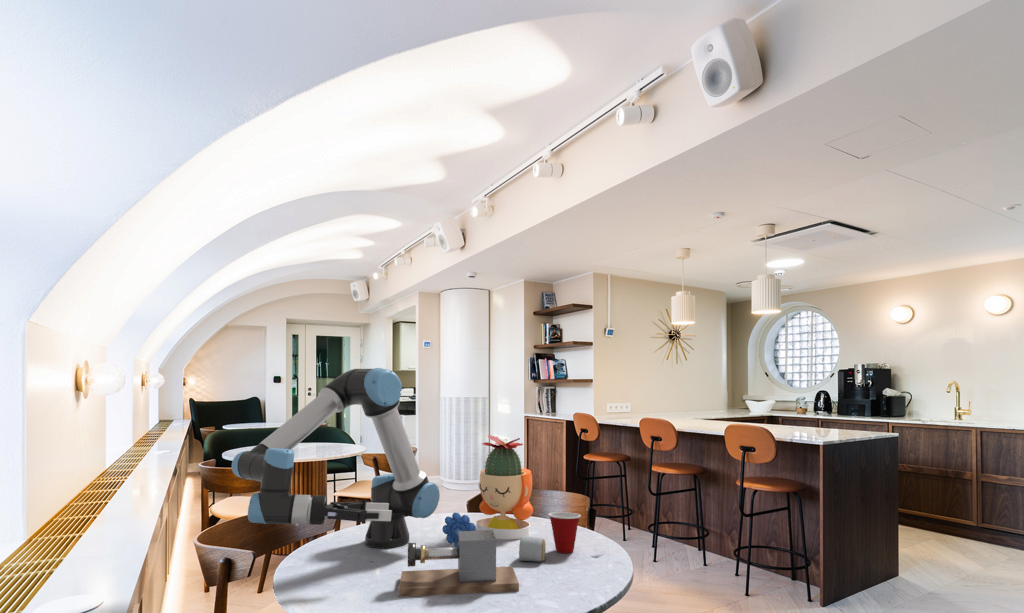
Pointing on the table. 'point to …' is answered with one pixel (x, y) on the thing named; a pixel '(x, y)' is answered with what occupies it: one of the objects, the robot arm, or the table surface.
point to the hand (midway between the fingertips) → (390, 511)
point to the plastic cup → (564, 530)
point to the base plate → (453, 582)
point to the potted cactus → (505, 492)
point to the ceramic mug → (532, 549)
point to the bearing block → (477, 556)
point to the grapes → (456, 527)
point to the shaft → (430, 553)
